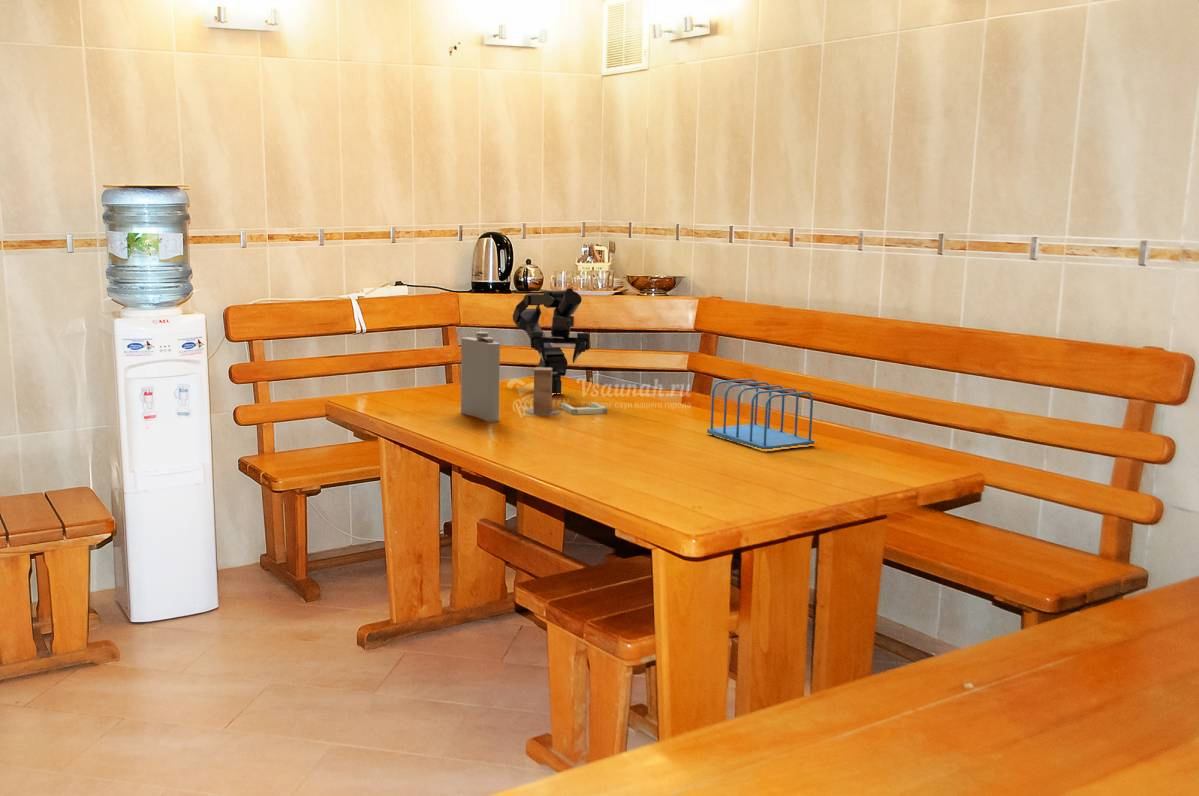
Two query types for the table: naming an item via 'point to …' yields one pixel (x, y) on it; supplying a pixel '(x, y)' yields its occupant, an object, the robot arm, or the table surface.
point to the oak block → (542, 390)
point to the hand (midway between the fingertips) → (558, 361)
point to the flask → (480, 377)
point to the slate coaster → (553, 412)
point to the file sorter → (755, 432)
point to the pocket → (585, 409)
